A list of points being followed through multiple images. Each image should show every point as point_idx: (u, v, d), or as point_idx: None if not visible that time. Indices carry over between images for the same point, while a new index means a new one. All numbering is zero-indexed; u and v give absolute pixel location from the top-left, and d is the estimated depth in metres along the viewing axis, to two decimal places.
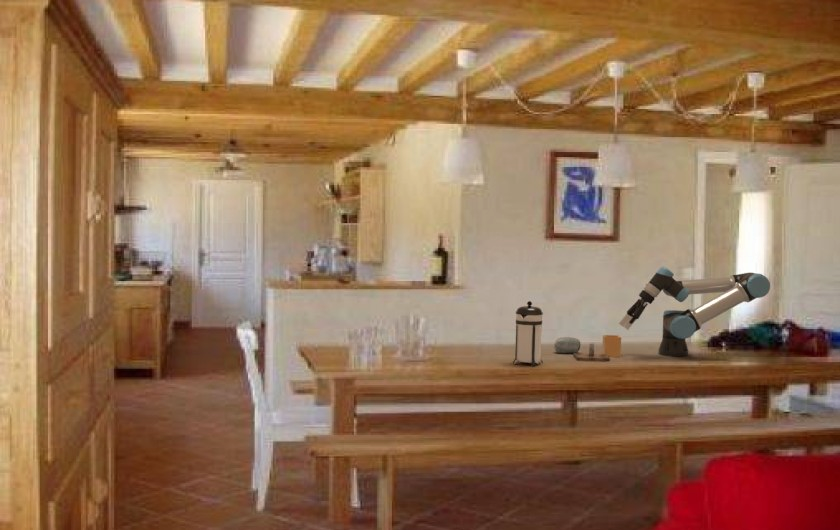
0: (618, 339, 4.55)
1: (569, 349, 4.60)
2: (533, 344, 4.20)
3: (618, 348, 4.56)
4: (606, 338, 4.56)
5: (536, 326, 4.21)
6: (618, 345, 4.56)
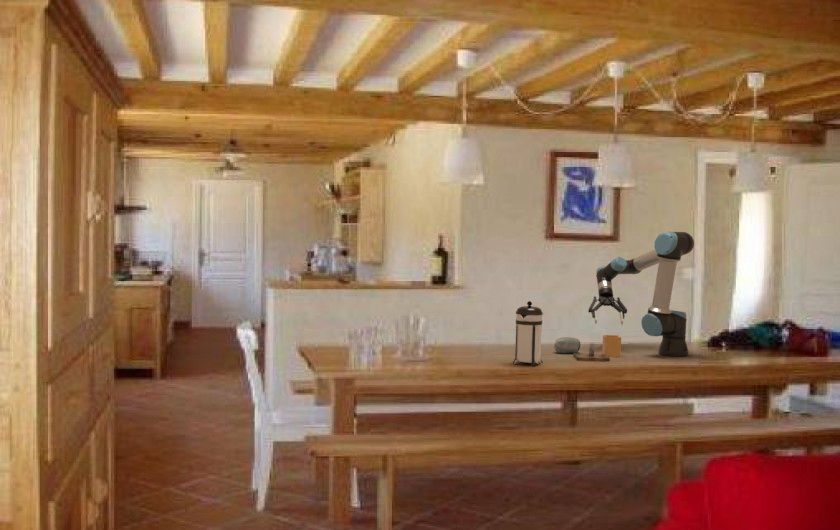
0: (618, 339, 4.55)
1: (569, 349, 4.60)
2: (533, 344, 4.20)
3: (618, 348, 4.56)
4: (606, 338, 4.56)
5: (536, 326, 4.21)
6: (618, 345, 4.56)
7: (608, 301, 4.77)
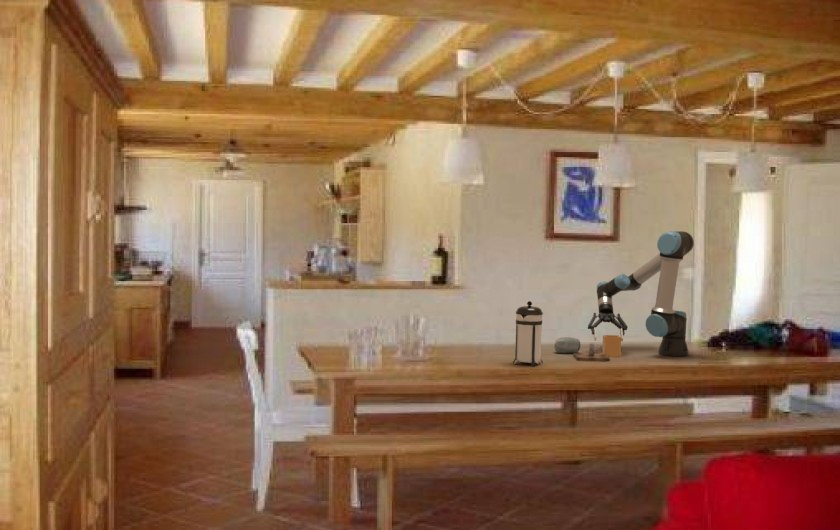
0: (618, 339, 4.55)
1: (569, 349, 4.60)
2: (533, 344, 4.20)
3: (618, 348, 4.56)
4: (606, 338, 4.56)
5: (536, 326, 4.21)
6: (618, 345, 4.56)
7: (608, 317, 4.70)
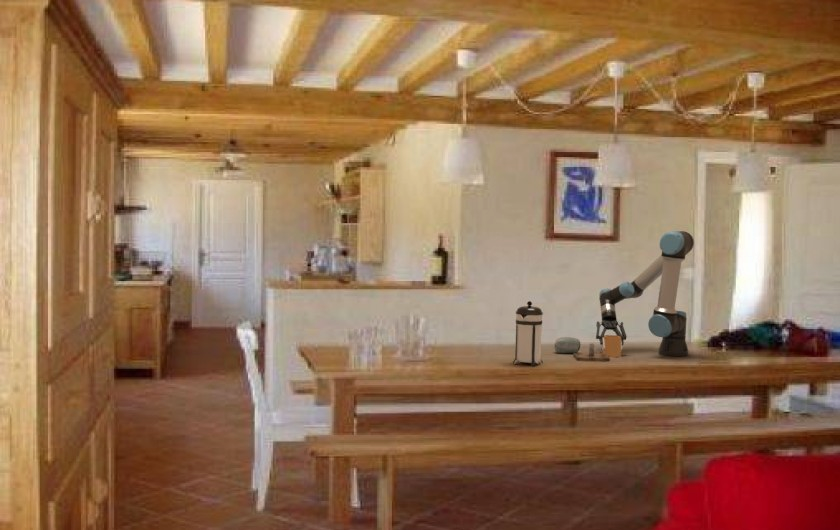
0: (618, 339, 4.55)
1: (569, 349, 4.60)
2: (533, 344, 4.20)
3: (618, 348, 4.56)
4: (606, 338, 4.56)
5: (536, 326, 4.21)
6: (618, 345, 4.56)
7: (611, 325, 4.66)
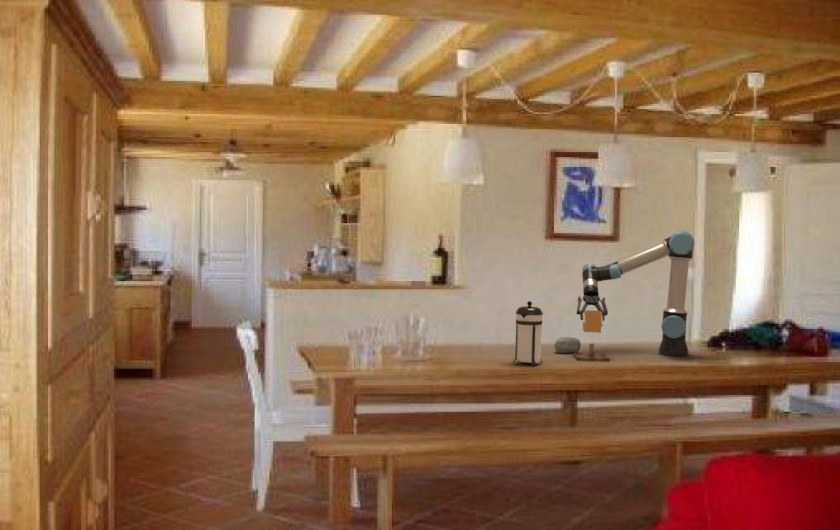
0: (598, 314, 4.45)
1: (569, 349, 4.60)
2: (533, 344, 4.20)
3: (598, 323, 4.45)
4: (586, 313, 4.45)
5: (536, 326, 4.21)
6: (598, 320, 4.45)
7: (593, 300, 4.55)
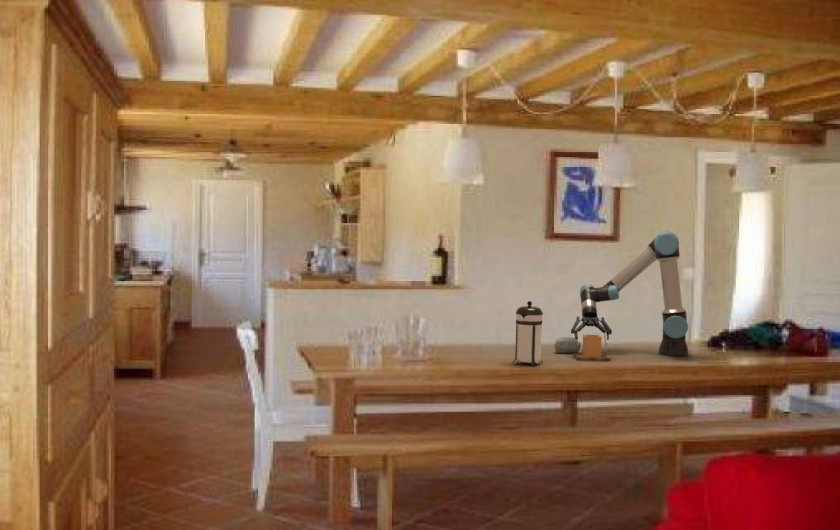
0: (598, 339, 4.43)
1: (569, 349, 4.60)
2: (533, 344, 4.20)
3: (598, 348, 4.43)
4: (586, 338, 4.43)
5: (536, 326, 4.21)
6: (598, 345, 4.43)
7: (592, 321, 4.53)
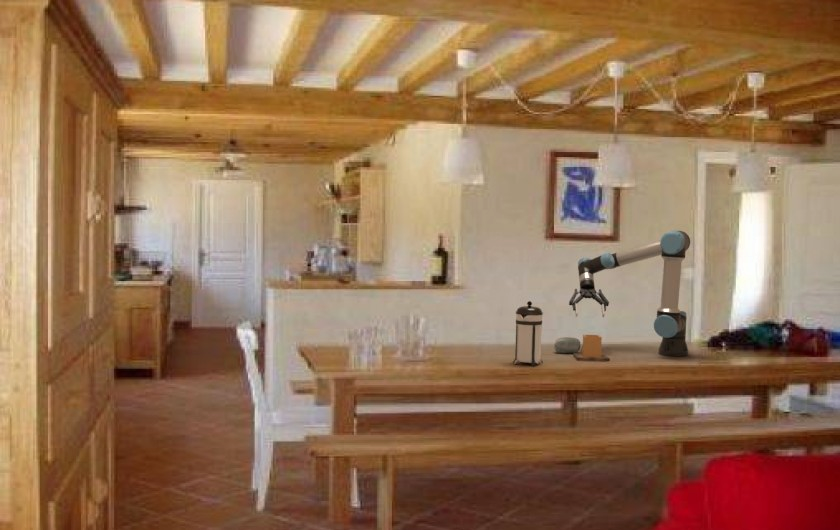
0: (598, 339, 4.43)
1: (569, 349, 4.60)
2: (533, 344, 4.20)
3: (598, 348, 4.43)
4: (586, 338, 4.43)
5: (536, 326, 4.21)
6: (598, 345, 4.43)
7: (589, 293, 4.65)
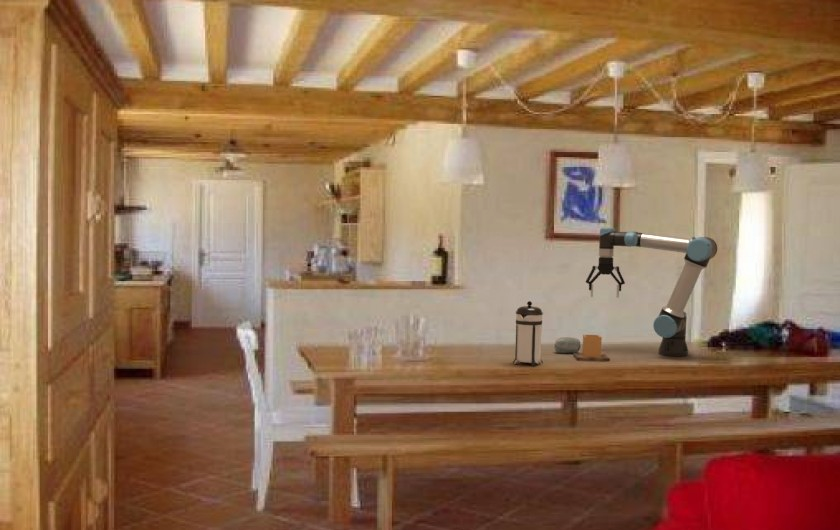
0: (598, 339, 4.43)
1: (569, 349, 4.60)
2: (533, 344, 4.20)
3: (598, 348, 4.43)
4: (586, 338, 4.43)
5: (536, 326, 4.21)
6: (598, 345, 4.43)
7: (607, 272, 4.72)
